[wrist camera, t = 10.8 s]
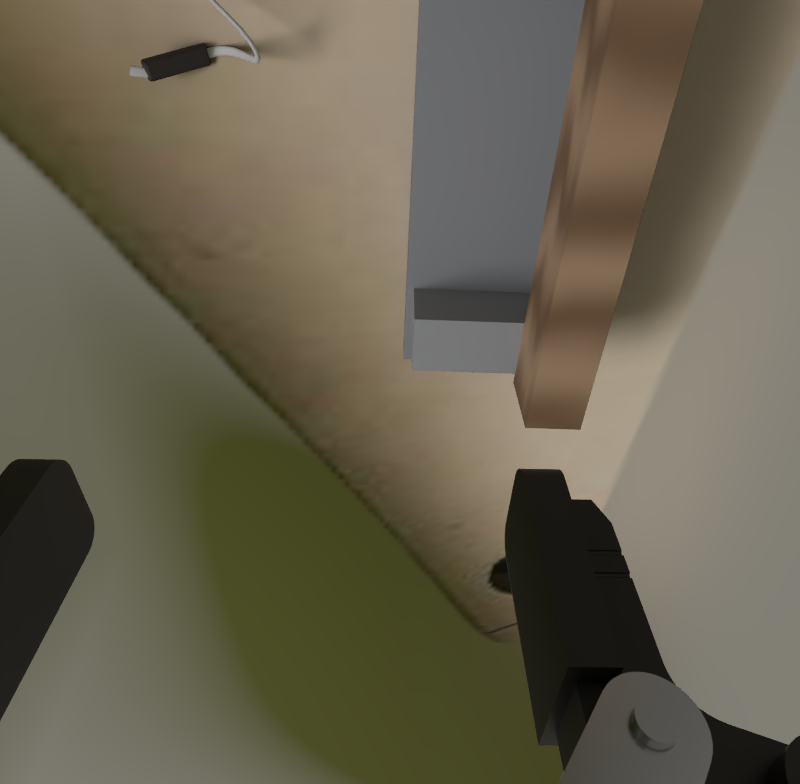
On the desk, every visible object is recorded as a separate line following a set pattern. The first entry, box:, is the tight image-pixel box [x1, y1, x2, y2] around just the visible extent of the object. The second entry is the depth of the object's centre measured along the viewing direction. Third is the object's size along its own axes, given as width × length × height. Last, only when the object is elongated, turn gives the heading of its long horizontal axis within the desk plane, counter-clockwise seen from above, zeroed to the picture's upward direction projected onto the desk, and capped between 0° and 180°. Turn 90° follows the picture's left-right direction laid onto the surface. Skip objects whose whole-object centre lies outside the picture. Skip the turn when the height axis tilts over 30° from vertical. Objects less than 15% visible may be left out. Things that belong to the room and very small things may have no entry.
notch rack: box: [404, 0, 585, 374], centre depth 34 cm, size 30×13×9 cm, turn 178°
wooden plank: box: [514, 0, 704, 430], centre depth 31 cm, size 28×4×5 cm, turn 178°
